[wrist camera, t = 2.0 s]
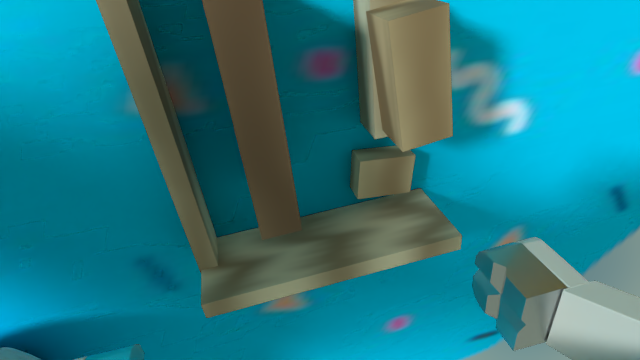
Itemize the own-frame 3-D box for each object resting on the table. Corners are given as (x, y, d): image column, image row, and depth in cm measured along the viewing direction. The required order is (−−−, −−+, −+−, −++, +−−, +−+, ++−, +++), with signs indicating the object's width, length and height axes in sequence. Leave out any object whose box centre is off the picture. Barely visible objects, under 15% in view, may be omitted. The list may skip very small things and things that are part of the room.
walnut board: (249, 175, 27) (262, 239, 21) (201, -21, 20) (200, -6, 15) (281, 168, 27) (302, 230, 21) (243, -27, 21) (259, -15, 15)
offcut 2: (382, 130, 24) (402, 152, 22) (365, 11, 20) (388, 21, 18) (427, 116, 24) (452, 135, 22) (419, -5, 21) (448, 3, 18)
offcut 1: (359, 121, 27) (375, 139, 24) (351, -7, 23) (369, -1, 20) (400, 112, 27) (420, 129, 25) (400, -15, 23) (424, -10, 21)
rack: (204, 253, 29) (204, 318, 24) (56, -154, 17) (-7, -194, 12) (420, 200, 32) (460, 249, 27) (433, -188, 19) (513, -233, 14)
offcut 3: (348, 184, 29) (357, 199, 28) (350, 148, 28) (360, 161, 26) (398, 178, 30) (409, 192, 29) (403, 143, 29) (415, 155, 27)
